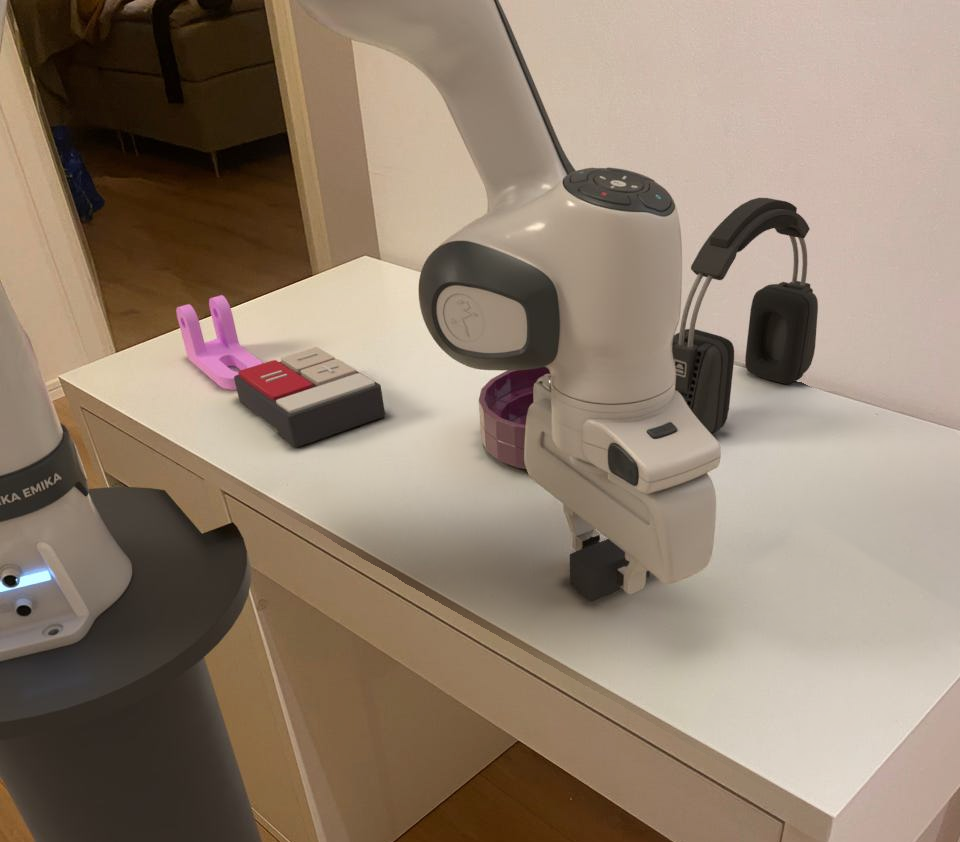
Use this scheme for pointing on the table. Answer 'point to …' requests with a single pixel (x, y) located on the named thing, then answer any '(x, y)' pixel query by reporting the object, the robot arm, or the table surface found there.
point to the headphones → (773, 317)
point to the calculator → (309, 395)
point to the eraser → (597, 569)
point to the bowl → (507, 413)
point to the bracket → (215, 343)
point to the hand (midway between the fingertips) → (607, 569)
